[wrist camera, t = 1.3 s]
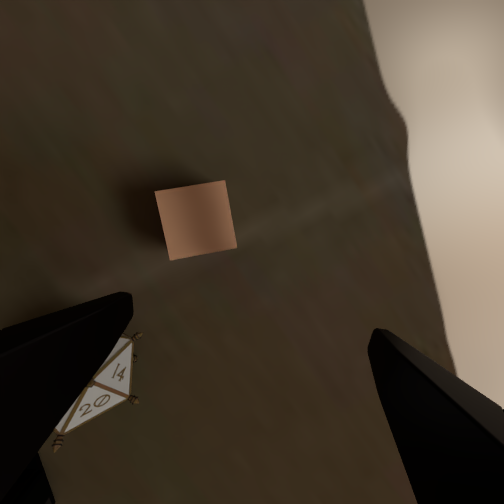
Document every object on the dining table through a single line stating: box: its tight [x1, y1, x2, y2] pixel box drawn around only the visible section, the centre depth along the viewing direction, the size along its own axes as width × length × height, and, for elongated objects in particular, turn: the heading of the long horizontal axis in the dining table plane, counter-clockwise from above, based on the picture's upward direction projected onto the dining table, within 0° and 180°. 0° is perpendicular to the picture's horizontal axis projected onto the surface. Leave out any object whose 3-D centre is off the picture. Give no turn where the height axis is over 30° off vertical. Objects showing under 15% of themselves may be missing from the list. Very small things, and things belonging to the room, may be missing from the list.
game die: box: [52, 333, 143, 453], centre depth 19 cm, size 9×8×10 cm
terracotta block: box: [155, 180, 237, 260], centre depth 20 cm, size 5×5×5 cm
